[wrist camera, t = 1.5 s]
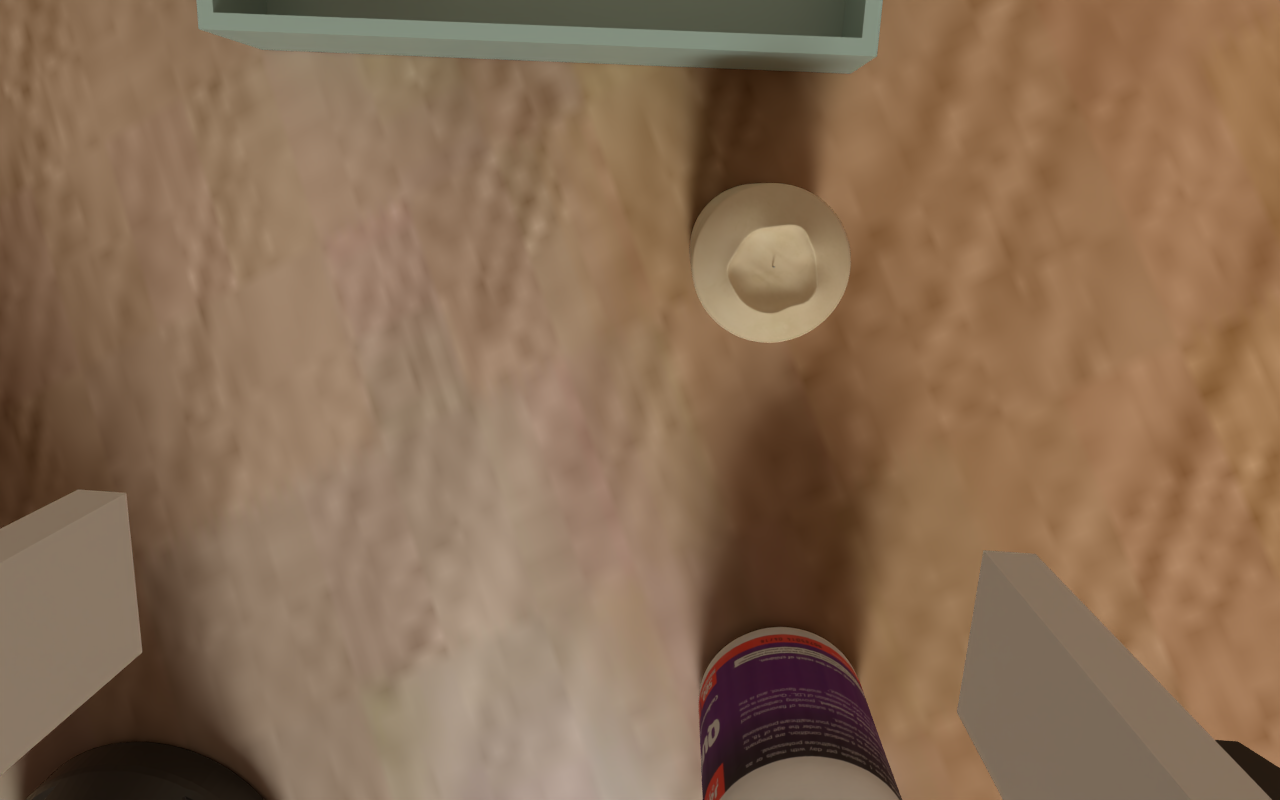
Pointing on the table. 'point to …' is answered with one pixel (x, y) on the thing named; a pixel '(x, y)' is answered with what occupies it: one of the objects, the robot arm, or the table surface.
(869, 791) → the pill bottle
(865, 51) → the tote
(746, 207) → the candle
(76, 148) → the table surface
